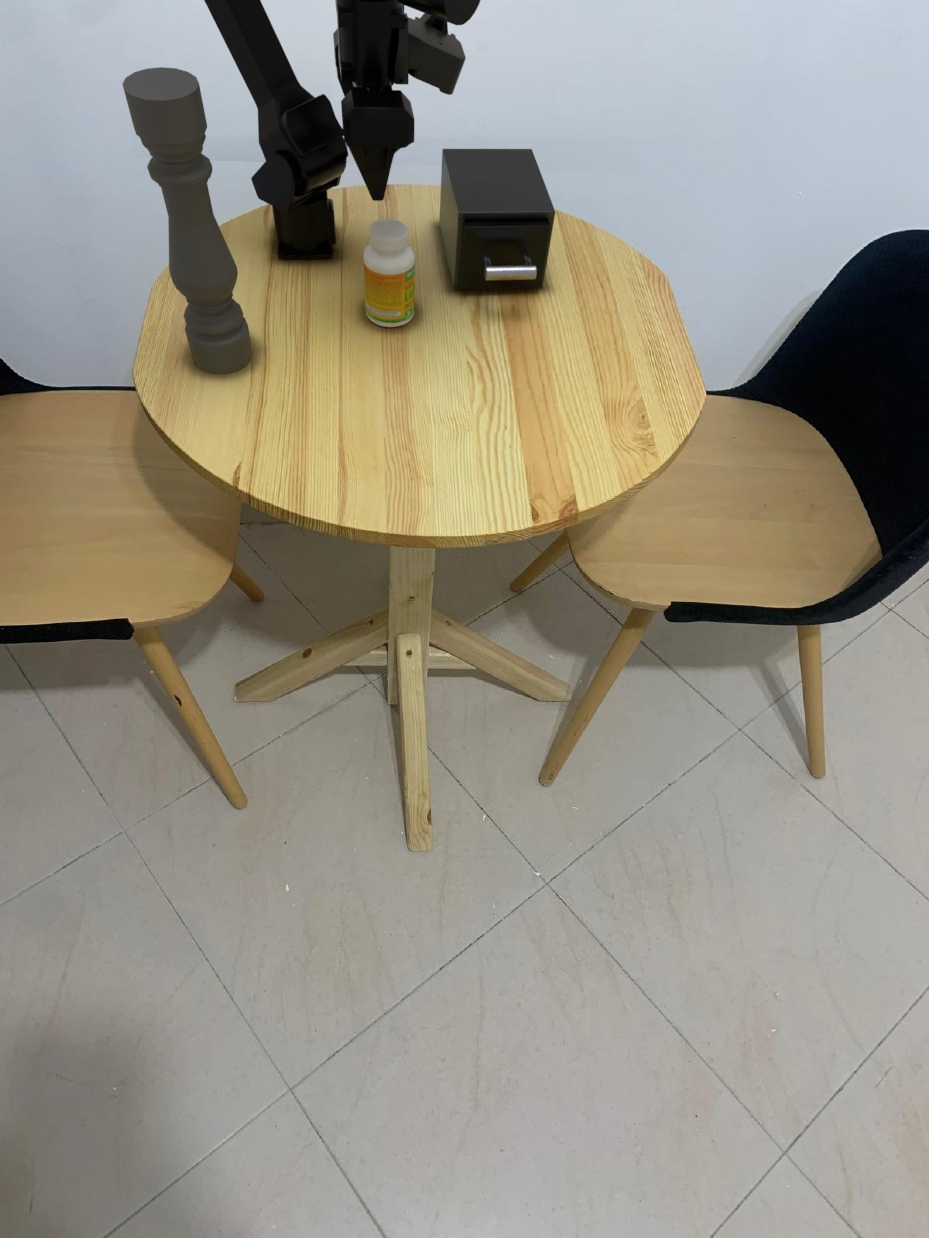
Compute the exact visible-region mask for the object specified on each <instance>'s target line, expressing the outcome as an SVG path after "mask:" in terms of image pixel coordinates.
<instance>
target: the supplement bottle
mask: <svg viewBox="0 0 929 1238" xmlns="http://www.w3.org/2000/svg"><path fill="white" fill-rule="evenodd" d="M368 241H369V243H368V244H367V245H366V246H365V248H364V251H363V258H362V259H363V281H364V282H363V283H364V306H365V314H366V317H367V318H368V319H369V321H371V322H372V323H373V324H375V325H378V326H380V327H385V328H395V327H400V326H404V325H406V324H409V322H410V321H411V320H412V319H413V317H414V313H415V286H416V283H415V282H416V281H415V280H416V279H415V278H416V276H415V275H416V255H415V252H414V249H413V247H411V245H410V244H409V228H408V226H407V225H406V224H405V223H403V222H402V221H400V220H396V219H393V218H383V219H378V220H375V221H373V222H372V223H371V224H370V225H369V228H368Z"/></svg>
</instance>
